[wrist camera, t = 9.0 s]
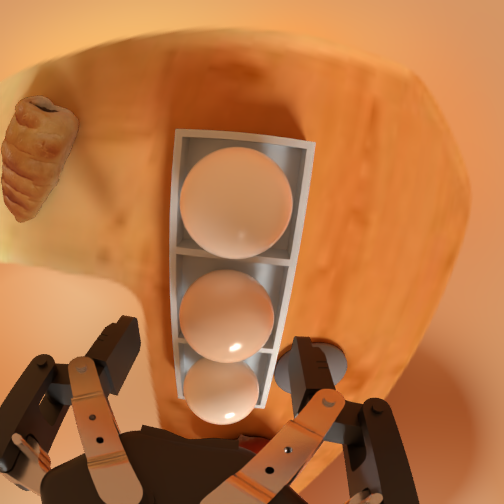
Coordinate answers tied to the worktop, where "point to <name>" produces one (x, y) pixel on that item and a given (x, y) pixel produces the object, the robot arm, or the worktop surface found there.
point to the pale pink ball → (226, 316)
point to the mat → (334, 361)
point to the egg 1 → (236, 202)
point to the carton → (259, 267)
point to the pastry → (35, 153)
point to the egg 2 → (221, 390)
